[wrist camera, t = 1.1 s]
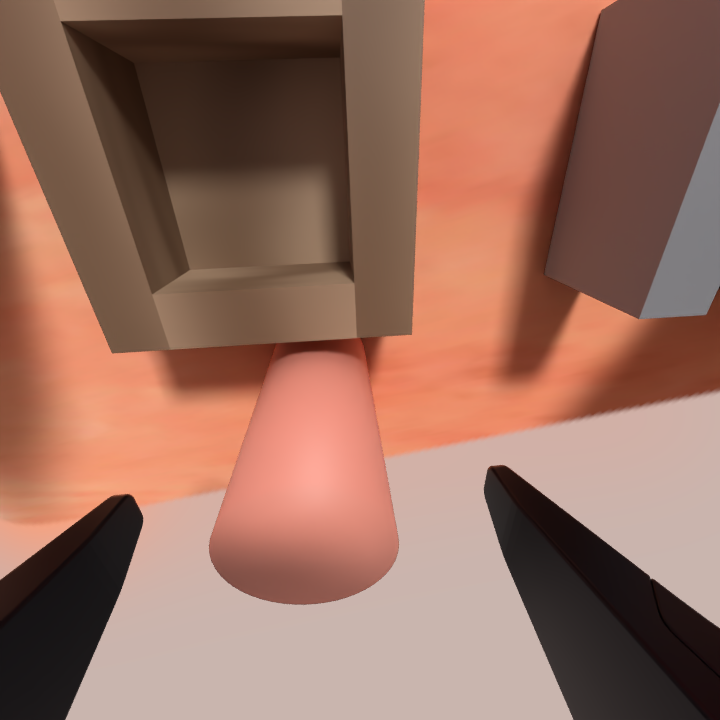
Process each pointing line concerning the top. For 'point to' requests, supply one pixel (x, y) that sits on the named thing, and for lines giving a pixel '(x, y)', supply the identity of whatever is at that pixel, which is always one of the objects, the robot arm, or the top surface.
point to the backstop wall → (646, 164)
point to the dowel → (309, 483)
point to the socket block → (226, 161)
